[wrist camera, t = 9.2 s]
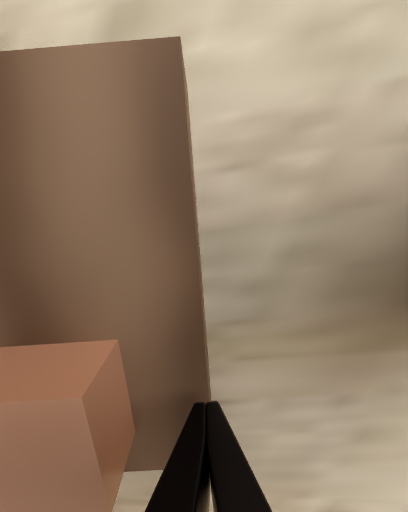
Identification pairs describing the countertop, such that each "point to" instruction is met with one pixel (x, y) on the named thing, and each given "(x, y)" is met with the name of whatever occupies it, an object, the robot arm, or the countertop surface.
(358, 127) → the countertop surface
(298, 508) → the countertop surface
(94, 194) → the walnut board
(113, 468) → the block
